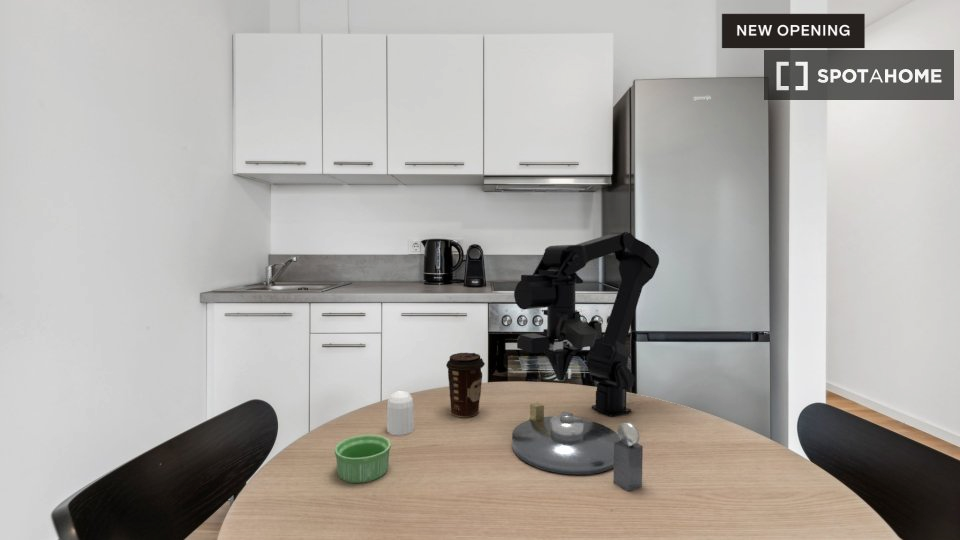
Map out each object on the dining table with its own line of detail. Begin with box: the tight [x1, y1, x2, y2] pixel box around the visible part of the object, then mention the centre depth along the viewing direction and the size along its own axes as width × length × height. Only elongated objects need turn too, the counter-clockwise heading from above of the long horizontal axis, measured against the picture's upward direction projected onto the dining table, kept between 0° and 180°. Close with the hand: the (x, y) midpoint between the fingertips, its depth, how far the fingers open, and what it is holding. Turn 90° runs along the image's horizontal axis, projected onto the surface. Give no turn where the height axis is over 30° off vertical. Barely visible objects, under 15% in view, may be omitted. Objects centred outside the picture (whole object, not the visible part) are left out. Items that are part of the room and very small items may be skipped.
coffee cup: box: [445, 352, 486, 418], centre depth 99 cm, size 9×8×13 cm
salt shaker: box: [386, 390, 415, 436], centre depth 89 cm, size 5×5×8 cm
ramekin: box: [334, 434, 392, 484], centre depth 73 cm, size 9×9×4 cm
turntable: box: [511, 402, 621, 476], centre depth 81 cm, size 20×20×5 cm
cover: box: [550, 411, 583, 444], centre depth 81 cm, size 6×6×4 cm
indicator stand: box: [612, 421, 644, 493], centre depth 69 cm, size 3×3×10 cm
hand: (560, 380), depth 92 cm, fingers closed
